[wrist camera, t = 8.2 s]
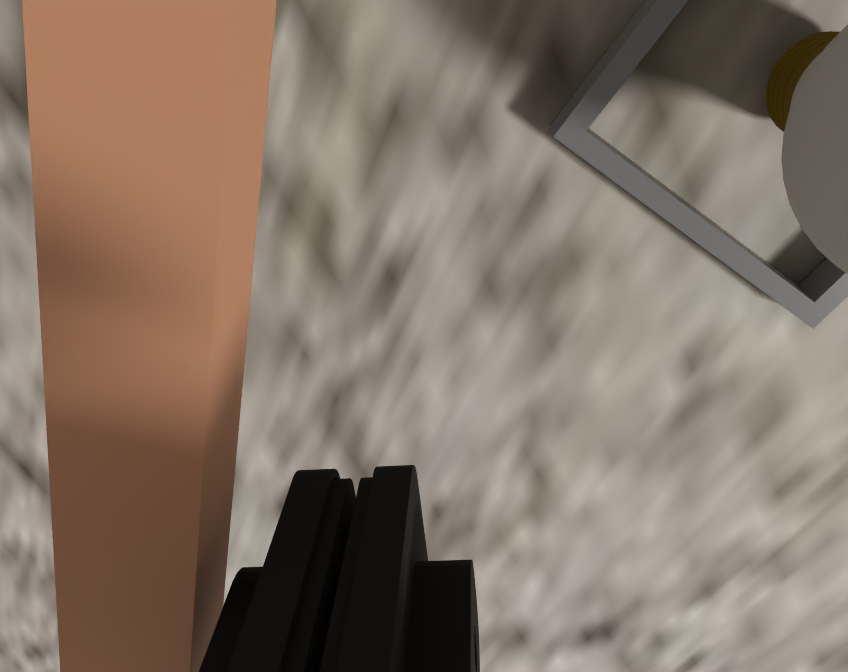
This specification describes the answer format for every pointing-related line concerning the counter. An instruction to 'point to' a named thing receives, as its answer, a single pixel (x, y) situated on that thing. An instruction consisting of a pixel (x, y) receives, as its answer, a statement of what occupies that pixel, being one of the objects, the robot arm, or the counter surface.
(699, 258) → the counter surface
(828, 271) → the square frame
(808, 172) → the light bulb
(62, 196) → the tan bar
